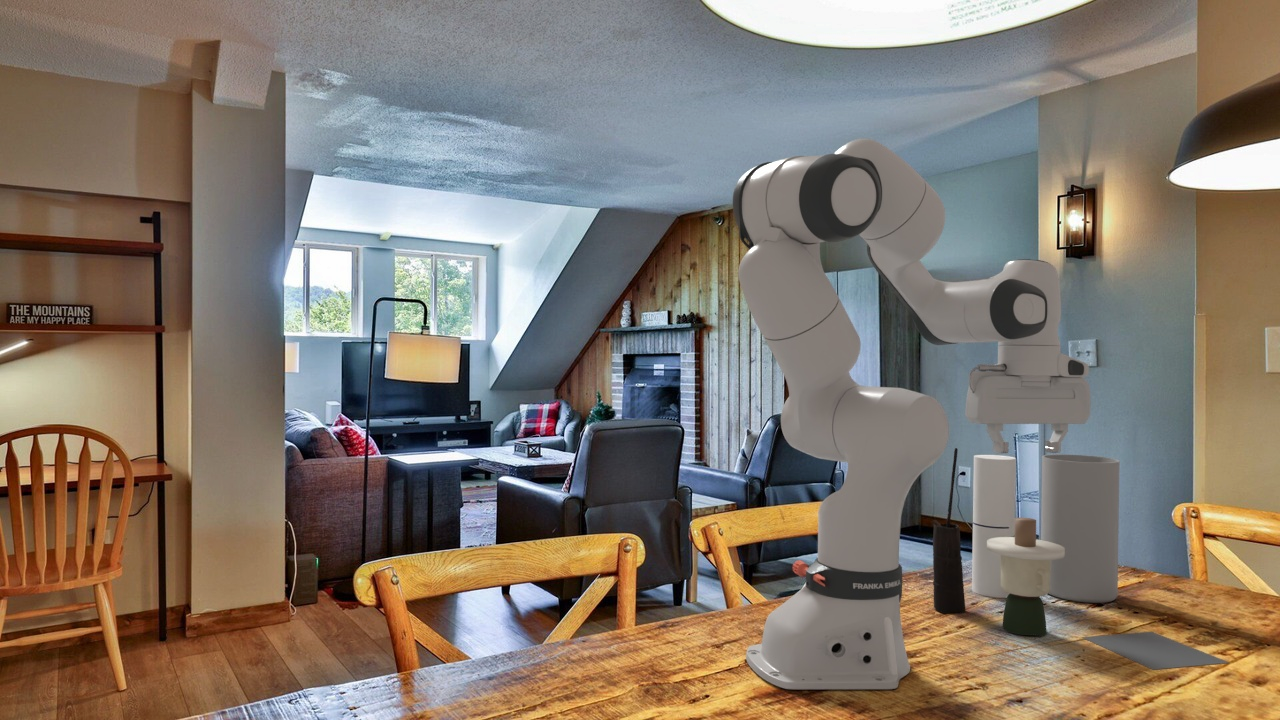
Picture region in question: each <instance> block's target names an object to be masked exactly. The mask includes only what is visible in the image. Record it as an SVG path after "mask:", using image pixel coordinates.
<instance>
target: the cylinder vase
mask: <svg viewBox="0 0 1280 720" xmlns="http://www.w3.org/2000/svg"><path fill="white" fill-rule="evenodd" d="M1040 505H1041V510H1040V511H1041V514H1040V515H1041V518H1040V519H1041V520H1040V527H1041V528H1040V540H1043V541H1048V542H1052V543H1055V544H1058V545H1061V546H1063V547H1064V548H1065V556H1064V557H1063V558H1061V559H1056V560H1050V565H1051V572H1050V586H1051V589H1050V592H1049V593H1048V594H1047V595H1051V596H1053V597H1056V598H1058V599H1063V600H1068V601H1072V602H1076V603H1077V602H1079V603H1087V604H1089V603H1090V604H1101V603H1110V602H1112V601H1114V600H1115V599H1117V598H1118V594H1119V593H1118V590H1119V589H1118V587H1119V582H1118V581H1119V532H1120V531H1119V526H1120V525H1119V524H1120V522H1119V521H1120V520H1119V519H1120V515H1119V514H1120V508H1119V507H1120V460H1119V459H1116V458H1110V457H1105V456H1096V455H1083V454H1065V453H1063V454H1060V453H1052V454H1044V455H1042V456H1041V504H1040Z"/></svg>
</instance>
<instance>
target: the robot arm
mask: <svg viewBox="0 0 1280 720" xmlns="http://www.w3.org/2000/svg"><path fill="white" fill-rule="evenodd" d="M732 211H733V215H734V219H735V222H736V223H735V224H736V225H737V228H738V234H739V239H740V241H741V242H742V243H743V244H744V245H745V247H746V248H747V249H748V251H747V252H746V253H745V254H744V256H743V257H742V259H741V260H740V262H739V265H738V272H737V273H738V274H737V275H738V280H739V285H740V288H741V290H742V291H741V292H742V293H743V296H744V299H745V302H746V304H747V306H748V309H749V311H750V313H751V316H752V318H753V319H754V322H755V324H756V326H757V328H758V329H759V332H760V334H761V335H762V337H763V339H764V340H765V342H766V344H767V346H768V347H769V350H770V351H771V353H772V355H773V357H774V358H775V360H776V362H777V365H778V366H779V368H780V369H781V372H782V373H783V376H784V378H785V381H786V385H787V390H788V397H787V399H786V400H785V402H784V404H783V407H782V409H781V413H780V426H781V427H780V429H781V431H782V432H781V433H782V434H783V436H784V439H785V440H786V443H788V446H790V447H792V448H793V449H795V450H797V451H799V452H802V453H804V454H806V455H809V456H811V457H814V458H817V459H820V460H827V461H835V462H840V463H847V471H846V475H845V479H844V481H843V484H842V486H841V487H840V489H838V490H837V491H835V492H832V493H831V494H830V495H828V496H827V497H825V498H824V499H823V501H821V503H820V505H819V508H818V514H817V521H818V523H817V557H816V559H815V560H814V562H813V563H812V564H810V565H809V564H808V563H805V562H804V561H802V560H799V559H798V560H796V561H794V563H793V564H792V567H791V568H792V571H793V572H794V574H796V575H798V577H801V578H805V585H804V586H803V587H802V588H801V589H800V590H799V591H797V592H795V594H793V595H792V596H791V597H790V598H788V599H787V600H785V602H783V603H782V604H781V605H780V606H778V607H776V608H775V609H774V610H772V611H771V612H770V613H769V614H768V616H767V618H766V620H765V623H764V628H763V633H762V639H761V643H759V644H757V643H756V644H752V645H749V646H748V647H747V650H746V654H745V655H746V656H745V660H746V663H747V664H748V666H749V667H750V669H752V671H753V672H755V673H756V675H757V676H759V677H760V678H761V679H763V680H764V681H767V682H768V683H770V684H771V685H774V686H776V687H778V688H782V689H785V690H893V689H894V690H895V689H897V688H898V686H899V683H900V682H899V681H900V680H901V679H902V678H904V677H905V676H907V675H908V674H909V673H910V671H911V666H910V665H911V664H910V662H909V659H908V654H907V650H906V646H905V641H904V634H903V627H902V619H901V606H900V603H901V601H902V596H903V595H902V594H903V566H902V565H901V564H900V542H901V541H900V537H901V523H902V513H903V508H904V505H905V502H906V498H907V497H908V494H909V491H910V489H911V488H912V486H913V484H914V483H915V481H916V480H917V478H918V477H919V476H920V475H921V474H922V473H923V472H924V471H925V470H926V469H928V468H930V466H932V465H934V464H935V463H936V462H937V461H938V460H939V459H940V458H941V456H942V455H943V453H944V451H945V449H946V447H947V446H948V445H947V444H948V441H949V435H950V426H949V420H948V417H947V414H946V411H945V410H944V408H943V406H942V405H941V403H940V402H939V401H938V400H937V399H936V398H934V396H931V395H928V394H925V393H921V392H918V391H914V390H910V389H906V388H903V387H892V386H891V387H889V386H887V387H886V386H870V385H869V386H866V385H860V384H859V383H858V382H856V381H855V380H854V379H853V378H852V376H851V373H850V371H851V370H852V369H853V368H854V366H855V365H856V364H857V362H858V358H859V356H860V352H861V338H860V335H859V333H858V331H857V330H856V328H855V326H854V324H853V322H852V320H851V318H850V316H849V314H848V313H847V311H846V309H845V307H844V305H843V302H842V301H841V299H840V298H839V295H838V294H837V291H836V290H835V287H834V286H833V285H832V283H831V281H830V279H829V277H828V275H827V274H826V273H825V271H824V267H823V264H822V260H821V250H820V249H821V243H824V242H825V243H826V242H828V243H839V242H843V241H846V240H849V239H852V238H854V237H857V236H858V235H859V236H860V238H862V239H863V240H864V241H865V243H866V253H867V256H868V259H869V261H870V263H871V264H872V266H873V267H874V269H875V271H876V272H877V273H878V274H879V276H880V277H881V279H882V280H883V282H885V284H886V285H887V287H889V289H890V290H891V291H892V292H893V294H894V295H895V297H897V299H898V300H899V302H901V303H902V304H903V306H904V307H905V309H906V310H907V312H908V313H909V315H910V317H911V319H912V321H913V323H914V325H915V328H916V329H917V331H918V333H919V334H920V335H921V336H922V337H923V338H924V339H925V340H926V341H927V343H930V344H932V345H935V346H947V345H954V344H956V345H957V344H965V343H966V344H967V343H970V344H971V343H972V344H973V343H997V363H993V364H986V363H980V364H977V366H975V367H973V368H972V370H971V371H970V372H969V373H968V388H967V389H968V390H967V395H966V399H965V411H964V412H965V414H964V416H965V418H966V419H967V421H968V422H969V423H972V424H976V425H977V424H979V425H986V432H987V433H988V436H989V437H990V439H991V440H992V452H993V453H995V454H999V455H1000V454H1008V453H1009V450H1010V449H1009V446H1010V443H1009V442H1008V441H1005V440H1004V437H1003V436H1002V434H1001V432H1003V431H1004V425H1021V424H1022V425H1029V424H1030V425H1041V424H1042V425H1050V430H1051V431H1052V433H1051V436H1050V438H1049V440H1045V441H1044V446H1045V448H1044V450H1045V452H1046V453H1051V454H1060V453H1061V451H1062V442H1063V440H1064V438H1065V437H1066V435H1067V433H1068V432H1069V425H1071V424H1072V425H1081V424H1086V423H1087V422H1088V420H1089V419H1090V416H1091V387H1090V384H1089V382H1088V380H1086V379H1085V378H1086V377H1088V376H1089V373H1090V365H1089V364H1088V363H1087V362H1084V361H1082V360H1078V358H1077V359H1076V358H1074V357H1071V356H1069V355H1067V354H1064V353H1062V352H1061V340H1060V337H1059V331H1058V330H1059V325H1060V322H1061V318H1062V300H1061V297H1062V295H1061V286H1060V278H1059V275H1058V271H1057V268H1056V267H1055V265H1053V264H1051V263H1049V262H1048V261H1045V260H1040V259H1031V258H1023V259H1021V258H1020V259H1013V260H1010V261H1008V262H1006V263H1005V264H1004V266H1003V268H1002V269H1003V270H1002V271H1001V272H999V273H998V274H996V275H993V276H991V277H989V278H983V279H978V280H977V279H976V280H967V281H966V280H965V281H945V280H944V281H943V280H939V279H937V278H934V277H933V276H932V275H931V273H930V272H929V271H928V269H927V268H926V267H925V265H924V264H923V262H922V261H921V260H922V259H923V258H924V257H925V256H927V254H929V253H930V252H931V250H932V249H933V248H934V247H935V245H936V244H937V242H938V241H939V239H940V238H941V235H942V233H943V230H944V227H945V223H946V209H945V206H944V203H943V201H942V200H941V197H940V196H939V194H938V192H936V190H935V189H934V188H933V187H932V186H931V185H930V184H929V183H928V182H927V180H925V178H923V177H922V176H921V175H920V174H919V173H918V171H916V170H915V169H914V168H913V167H912V166H911V165H910V163H908V162H907V161H906V160H905V159H903V158H901V156H899V155H898V154H897V153H895V151H892V150H891V149H889V148H888V147H886V146H885V145H883V144H882V143H881V142H879V141H878V140H877V141H876V140H875V139H871V138H866V137H865V138H857V139H853V140H851V141H848V142H847V143H845V144H844V145H842V146H841V147H840V148H838V149H837V150H836V151H835V152H834V153H828V154H825V155H809V156H806V155H805V156H804V155H795V156H790V157H785V158H781V159H778V160H775V161H767V162H763V163H761V164H758V165H756V166H754V167H753V168H750V169H749V170H748V171H746V172H745V173H744V174H742V176H741V177H740V178H739V179H738V181H737V183H736V184H735V187H734V190H733V193H732ZM747 242H748V243H747Z"/></svg>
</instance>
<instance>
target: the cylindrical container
mask: <svg viewBox="0 0 1280 720" xmlns="http://www.w3.org/2000/svg"><path fill="white" fill-rule="evenodd" d="M1016 464H1017V457H1014V456H1009V455H1000V454H999V455H998V454H975V455H973V477H972V478H973V485H972V486H973V489H972V492H973V493H972V501H973V502H972V508H973V509H972V551H971V552H972V553H971V554H972V556H971V557H972V558H971V559H972V564H971V568H972V569H971V572H972V573H971V574H972V575H971V576H972V577H971V591H972V592H973V593H975V594H978V595H979V596H983V597H988V598H999V599H1005V598H1007V596H1008V595H1009V594H1010V593H1008V592H1006V591H1004V590H1002V589H1001V555H1000V554H997V553H994V552H991V551H989V550H988V549H987V540H988V539H991V538H997V537H1015V518H1016V491H1017V490H1016V485H1017V482H1016V478H1017V477H1016V475H1017V465H1016Z"/></svg>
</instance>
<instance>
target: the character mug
mask: <svg viewBox="0 0 1280 720" xmlns="http://www.w3.org/2000/svg"><path fill="white" fill-rule="evenodd" d="M1050 572H1051V565H1050V560H1030V559H1021V558H1014V557H1009V556H1004V555H1001V589H1002V590H1004V591H1006V592H1008V593H1010V594H1009V595H1008V596H1007V598H1006V599H1005V603H1004V610H1003V615H1002V616H1003V617H1002V625H1001V627H1002V628H1003V630H1004V631H1005V632H1007V633H1009V634H1013V635H1014V634H1015V635H1020V636H1021V635H1022V636H1023V635H1024V636H1041V637H1045V636H1046V635H1048V631H1047V620H1046V613H1045V605H1044V602H1043V600H1042V598H1041V597H1045V596H1047V595H1049V594H1048V593H1049V592H1050V589H1051V586H1050Z"/></svg>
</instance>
